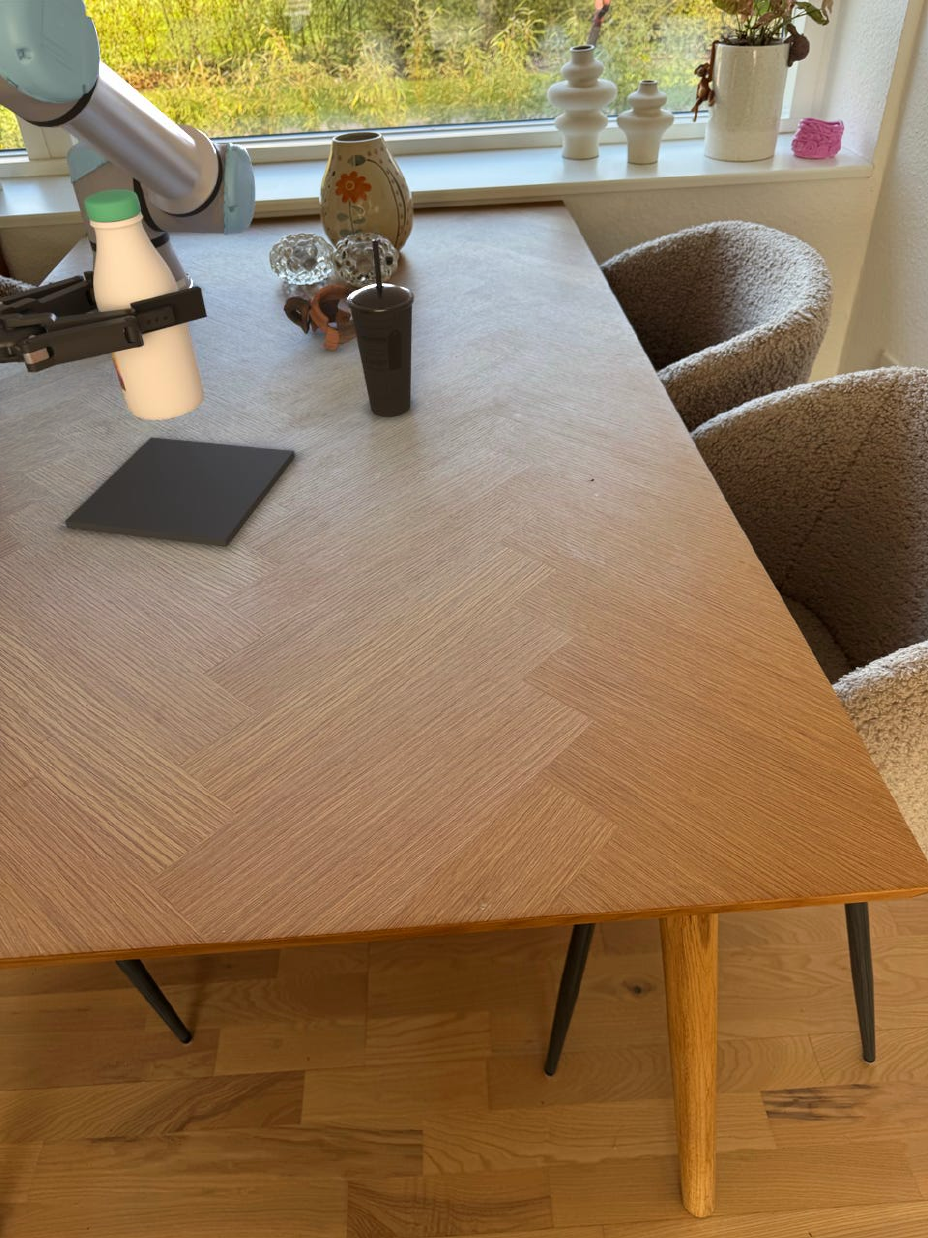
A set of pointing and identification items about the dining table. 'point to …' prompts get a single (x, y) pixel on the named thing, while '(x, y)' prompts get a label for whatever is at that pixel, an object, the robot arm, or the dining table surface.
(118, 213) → the milk bottle
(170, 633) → the dining table surface
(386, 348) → the drinking cup
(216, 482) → the slate mat
